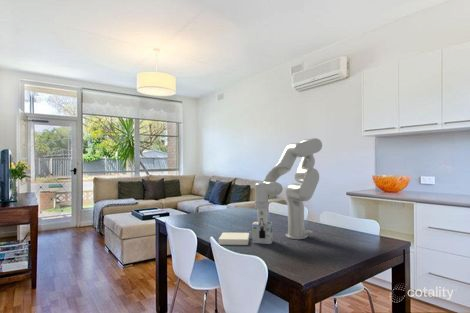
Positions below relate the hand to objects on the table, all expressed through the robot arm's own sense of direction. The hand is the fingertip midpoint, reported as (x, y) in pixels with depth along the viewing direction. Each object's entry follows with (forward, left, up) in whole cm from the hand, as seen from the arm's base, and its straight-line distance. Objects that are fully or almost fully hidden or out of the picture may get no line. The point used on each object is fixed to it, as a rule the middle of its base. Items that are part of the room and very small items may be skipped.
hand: (262, 235), depth 154 cm
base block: (+16, -1, -3) cm, 16 cm away
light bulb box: (0, 0, -4) cm, 4 cm away
